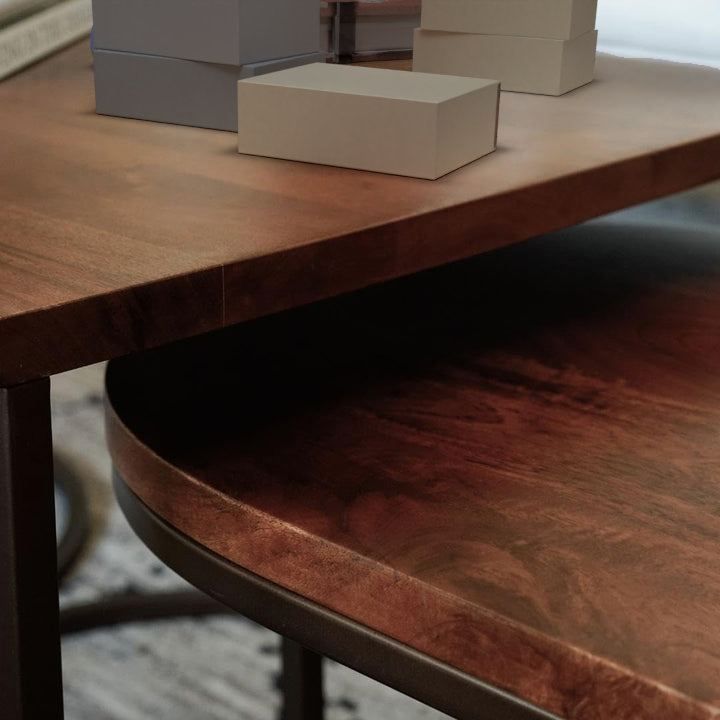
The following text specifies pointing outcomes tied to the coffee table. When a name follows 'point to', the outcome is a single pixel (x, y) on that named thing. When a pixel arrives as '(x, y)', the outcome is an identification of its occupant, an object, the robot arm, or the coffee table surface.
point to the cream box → (369, 118)
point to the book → (368, 29)
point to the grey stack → (195, 54)
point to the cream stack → (509, 42)
